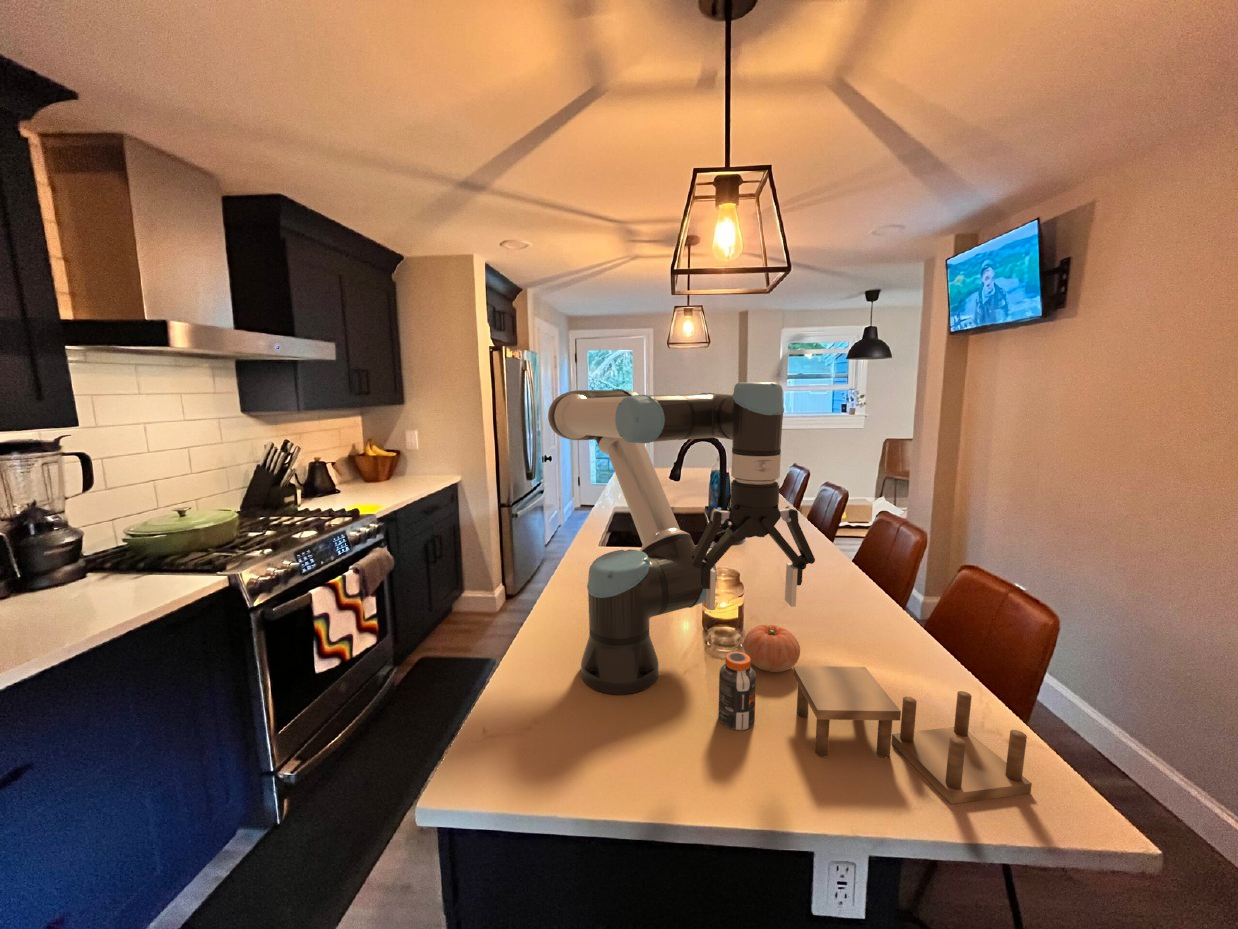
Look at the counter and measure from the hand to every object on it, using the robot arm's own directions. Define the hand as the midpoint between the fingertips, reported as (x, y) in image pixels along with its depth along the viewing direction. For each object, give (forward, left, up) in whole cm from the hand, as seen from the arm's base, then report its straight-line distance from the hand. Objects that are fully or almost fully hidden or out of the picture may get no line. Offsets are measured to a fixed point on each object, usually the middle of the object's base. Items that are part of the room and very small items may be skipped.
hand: (750, 605), depth 86 cm
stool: (+14, -6, -19) cm, 24 cm away
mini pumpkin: (+8, +14, -19) cm, 25 cm away
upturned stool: (+28, -13, -19) cm, 36 cm away
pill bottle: (-2, -3, -19) cm, 20 cm away
